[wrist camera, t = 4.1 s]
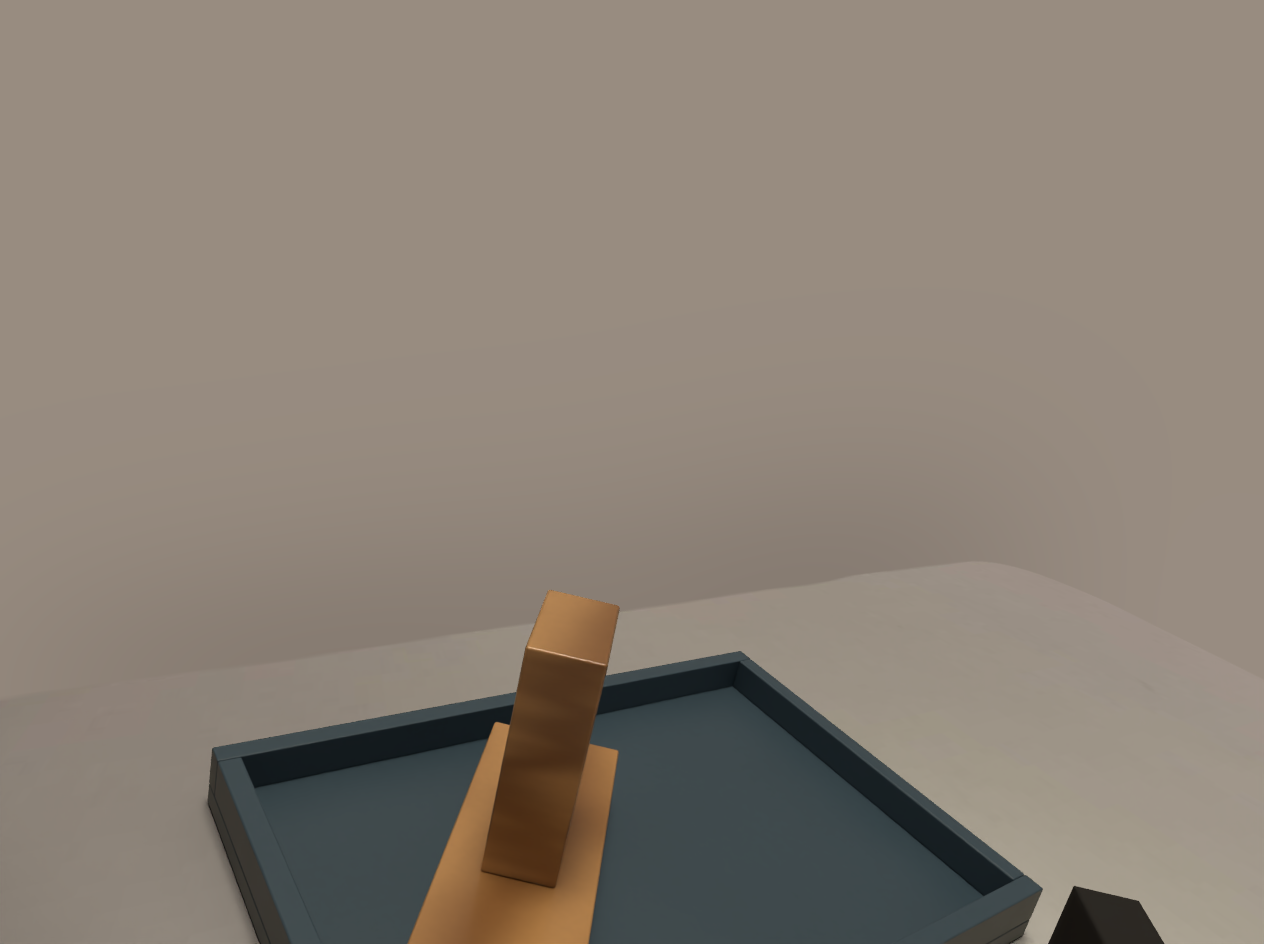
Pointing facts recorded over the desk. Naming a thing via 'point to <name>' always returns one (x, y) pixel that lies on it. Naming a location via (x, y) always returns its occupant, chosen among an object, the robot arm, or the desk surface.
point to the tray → (623, 824)
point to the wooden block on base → (534, 799)
